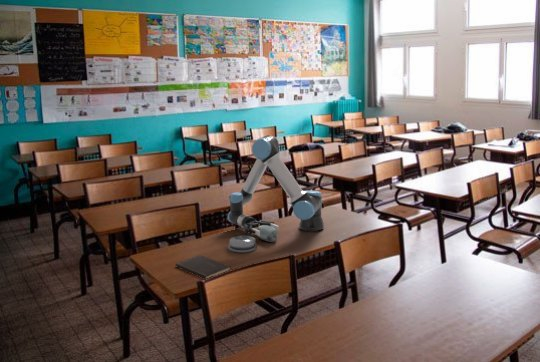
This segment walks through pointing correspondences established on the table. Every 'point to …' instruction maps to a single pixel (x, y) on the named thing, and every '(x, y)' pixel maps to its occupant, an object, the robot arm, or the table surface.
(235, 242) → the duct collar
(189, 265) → the hardcover book
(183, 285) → the table surface
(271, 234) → the grey rounded block
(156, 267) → the table surface
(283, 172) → the robot arm
